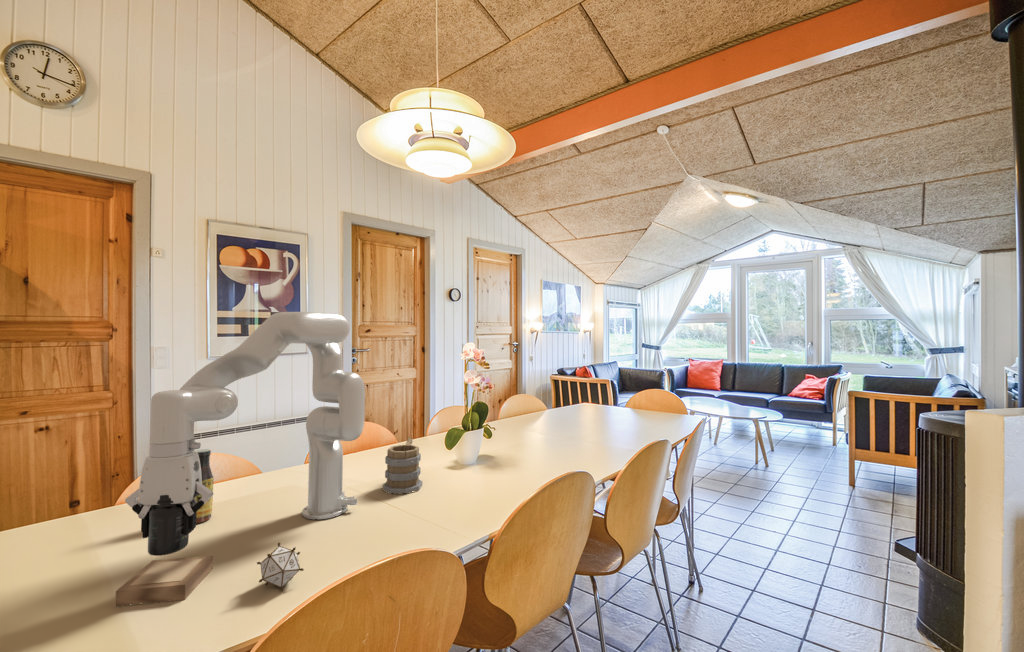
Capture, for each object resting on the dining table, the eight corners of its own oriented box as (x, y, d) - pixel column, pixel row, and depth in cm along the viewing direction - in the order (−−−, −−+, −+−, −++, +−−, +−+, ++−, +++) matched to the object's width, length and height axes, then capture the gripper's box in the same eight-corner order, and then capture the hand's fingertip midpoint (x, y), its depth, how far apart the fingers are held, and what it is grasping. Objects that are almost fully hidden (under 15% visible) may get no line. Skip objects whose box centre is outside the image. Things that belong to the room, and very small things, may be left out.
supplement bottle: (185, 538, 98) (187, 483, 98) (191, 549, 93) (193, 491, 93) (145, 548, 93) (147, 490, 93) (149, 560, 88) (151, 499, 88)
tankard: (416, 494, 148) (417, 449, 148) (379, 494, 148) (380, 449, 148) (428, 476, 168) (429, 436, 168) (395, 475, 168) (396, 436, 168)
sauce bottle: (197, 526, 122) (199, 454, 123) (179, 524, 123) (181, 453, 124) (217, 516, 128) (219, 448, 129) (200, 514, 130) (201, 447, 130)
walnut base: (212, 568, 100) (213, 554, 100) (184, 599, 88) (185, 583, 88) (152, 574, 97) (152, 559, 97) (115, 606, 86) (115, 590, 86)
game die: (274, 600, 94) (271, 551, 100) (312, 584, 95) (308, 536, 100) (248, 600, 87) (247, 547, 92) (290, 583, 87) (286, 532, 93)
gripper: (224, 443, 99) (222, 523, 98) (136, 446, 95) (133, 529, 95) (209, 451, 92) (206, 538, 91) (112, 455, 88) (108, 545, 87)
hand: (169, 533), depth 93 cm, fingers closed on supplement bottle, 6 cm apart
